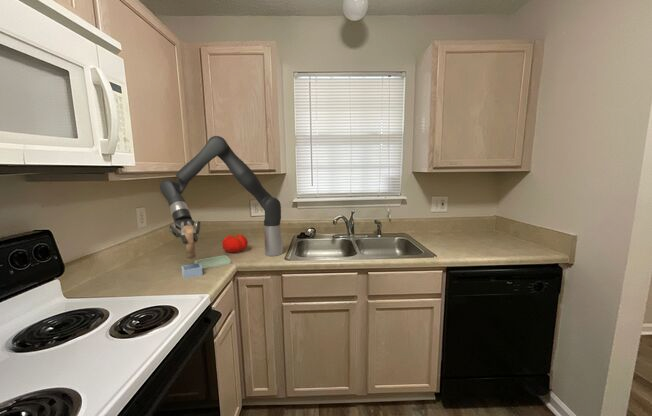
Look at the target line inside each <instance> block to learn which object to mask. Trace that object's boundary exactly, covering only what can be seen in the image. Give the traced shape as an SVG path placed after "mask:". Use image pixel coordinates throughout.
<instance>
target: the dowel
mask: <svg viewBox="0 0 652 416" xmlns="http://www.w3.org/2000/svg"><path fill="white" fill-rule="evenodd" d="M193 227H194V225H193V226H192V225H186V226H184V235H185V237H186V239H187V244H185V251H186V259H188V260H191V259H195V258H196V257H197V256H196V255H197V254H196V248H195V247H196V246H195V242H194V236H193Z"/></svg>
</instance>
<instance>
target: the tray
mask: <svg viewBox="0 0 652 416" xmlns="http://www.w3.org/2000/svg"><path fill="white" fill-rule="evenodd" d="M193 262H194V263H193V264H195V263H200V264H201V266H202V270H203V269H204V270H205V269H210V268H214V267H220V266H225V265H230V264H232V259H230V257H228V256H227V254H224V255H218V256H217V255H216V256H211V257H206V258H200V259H195V260H193Z"/></svg>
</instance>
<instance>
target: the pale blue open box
mask: <svg viewBox="0 0 652 416" xmlns="http://www.w3.org/2000/svg"><path fill="white" fill-rule="evenodd" d="M180 267H181V274H182V278H183V280H185V279H189V278H190V279H191V278H195V277H199V276H200V277H201V276H203V272H204V271H203V269H202V266H201V264H200V263H191V264H184V265H181V266H180Z"/></svg>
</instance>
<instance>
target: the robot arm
mask: <svg viewBox="0 0 652 416" xmlns="http://www.w3.org/2000/svg"><path fill="white" fill-rule="evenodd" d="M216 157H218V158H219V159H220V160H221V161H223V163H224V164H225V166H226V167H227V169H228V170H229V171H230V173H231V174H232V175H233V177H234V178H235V180H236V181H238V183H239V184H240V185H241V186H242V187H243V188H244V189H245V190H246V191H247V192H248V193H249V194H251V195H252V196H253V197H254V198H255V199H256V201H257V202H258V204H259V205H260V207H261V208H262V209H263V210H264V220H263V230H264V231H263V232H264V235H263V236H264V253H265V256H267V257H275V256H280V255H283V253H284V251H283V250H284V249H283V237H281V236H282V235H281V234H282V233H281V231H282V230H281V220H282V204H281V201H280V200H279V199H278V198H276V197H274V196H272V195H271V194H270V193H269V192H268V191H267V190H266V189H265V188H264V186H263V185H262V183H261V181H260V180H259V178H258V177H257V175H256V173H254V171H253V170H252V169H251V167H249V166H248V165H247V164H246V163H245V162H244V161H243V160H242V159H241V158H239V157H238V156H237V154H236V153H235V152H234V151H233V149H232V148H231V147H230V145H229V144H228V142H227V140H226V139H225V138H223V136H220V135H212V136H211V137H210V138H209V139H208V140H207V142H206V143H205V145H204V146H203V148H202V149H201V150H200V151H199V152H198V153H197V154H196V155H195V156H194V157H192V159H191V160H189V161H188V162H187V163H186V164H185V165H183V167H181V168H180V169H179V170H178V171H177V172H176V174H175V177H176V178H177V179H178V181H177V182H176V181H174V180H173V179H170V178H165V179H163V180H161V182H160V184H159V189H160V193H161V194H162V195H163V197H164V198H165V200H166V201H167V202H168V207H169V210H170V213H171V214H170V215H171V216H172V219H173V223H174V224H173V225H172V224H171V225H169V228H168V230H169V232H170V233H172V235H174V237H175V238H176V239H177V238H181V242H182V243H183V244H184V245H186V244H187V239H186V237H185V235H184V226H186V225H192V226H193V236H194V243H197V241H198V239H199V238H198V235H199V233H200V230H201V221H199V220H198V221H194V220H193V218H192V215H191V212H190V210H189V207H188V206H187V205H188V204H187V203H186V201H185V198H184V196H183V195H182V194H183V193H184V192H185V189H186V188H187V186H188V184H189V183H190V182H191V181H192V180H194V178H195V177H196V176H197V175H198V174H199V173H200V172H201V171H202V170H203V169H204V167H206V165H207V164H209V163H210V162H211V161H212V160H214V159H216ZM194 226H195V227H196V229H195V228H194ZM177 229H178V230H179V231H178V230H177Z"/></svg>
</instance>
